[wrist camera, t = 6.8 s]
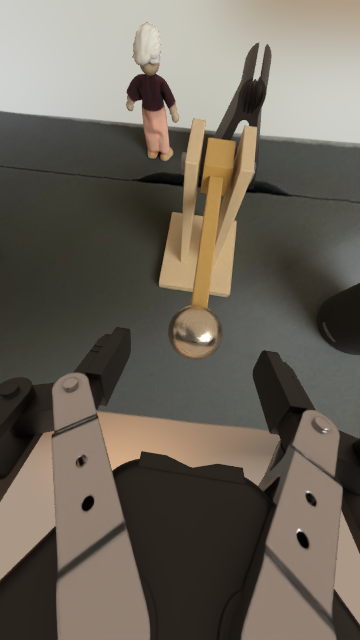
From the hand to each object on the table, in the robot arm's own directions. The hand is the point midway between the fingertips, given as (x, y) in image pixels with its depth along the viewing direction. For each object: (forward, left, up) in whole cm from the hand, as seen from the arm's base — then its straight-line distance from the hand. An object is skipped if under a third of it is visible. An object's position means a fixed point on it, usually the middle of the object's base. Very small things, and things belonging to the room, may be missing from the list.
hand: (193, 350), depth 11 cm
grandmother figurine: (+6, +35, -14) cm, 38 cm away
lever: (+3, +7, -3) cm, 8 cm away
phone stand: (+16, +28, -14) cm, 35 cm away
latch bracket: (+6, +14, -14) cm, 21 cm away
